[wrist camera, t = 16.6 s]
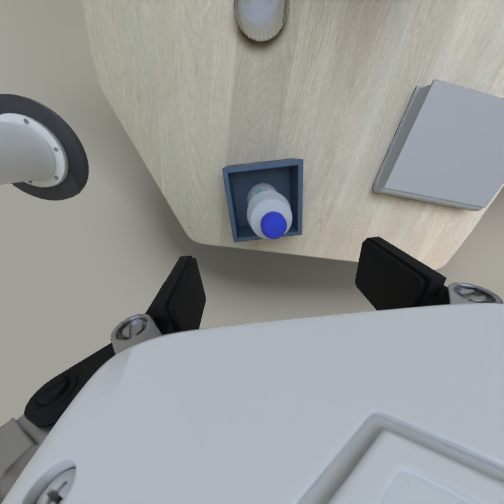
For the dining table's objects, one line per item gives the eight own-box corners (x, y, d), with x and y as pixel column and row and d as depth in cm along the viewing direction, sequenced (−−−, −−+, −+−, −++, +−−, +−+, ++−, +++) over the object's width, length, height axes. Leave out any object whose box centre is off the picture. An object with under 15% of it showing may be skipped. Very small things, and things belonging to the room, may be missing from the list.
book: (434, 79, 31) (554, 112, 34) (416, 86, 34) (526, 116, 37) (381, 193, 39) (481, 213, 42) (370, 190, 43) (463, 208, 45)
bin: (235, 228, 45) (234, 242, 39) (226, 165, 39) (222, 168, 32) (293, 222, 45) (301, 234, 38) (292, 158, 39) (303, 159, 32)
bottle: (283, 198, 42) (312, 231, 24) (259, 217, 44) (269, 262, 26) (264, 173, 39) (281, 188, 22) (239, 194, 41) (236, 225, 23)
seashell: (246, 53, 33) (293, 32, 31) (242, 50, 31) (293, 27, 28) (229, -24, 28) (283, -57, 26) (223, -34, 26) (283, -71, 24)
